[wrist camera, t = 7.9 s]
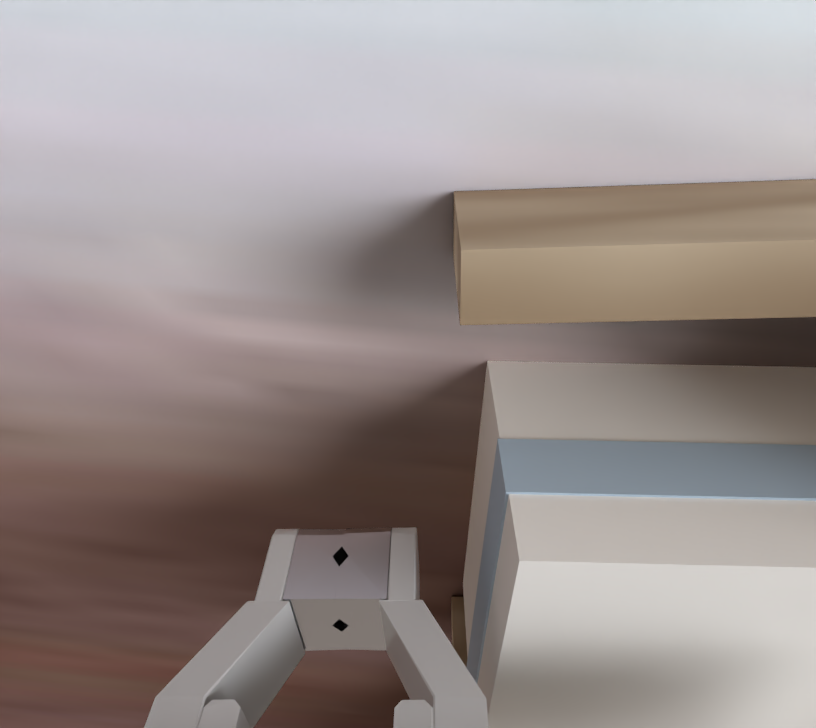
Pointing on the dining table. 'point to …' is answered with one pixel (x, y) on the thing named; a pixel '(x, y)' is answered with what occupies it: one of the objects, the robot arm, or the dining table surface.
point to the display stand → (633, 259)
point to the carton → (644, 546)
